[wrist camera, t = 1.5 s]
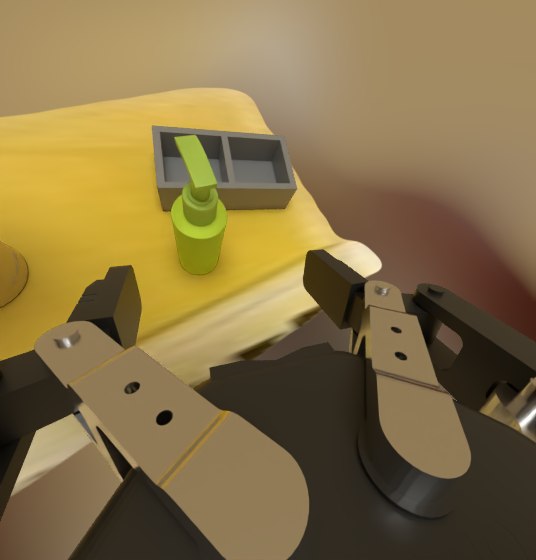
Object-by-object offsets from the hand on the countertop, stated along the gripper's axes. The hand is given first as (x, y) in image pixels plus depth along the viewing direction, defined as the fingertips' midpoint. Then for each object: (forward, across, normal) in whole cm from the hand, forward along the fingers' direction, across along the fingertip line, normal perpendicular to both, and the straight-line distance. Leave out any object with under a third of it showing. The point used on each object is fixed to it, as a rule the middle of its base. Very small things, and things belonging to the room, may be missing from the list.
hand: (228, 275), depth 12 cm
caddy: (+36, -6, +1) cm, 37 cm away
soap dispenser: (+27, 0, +11) cm, 29 cm away
